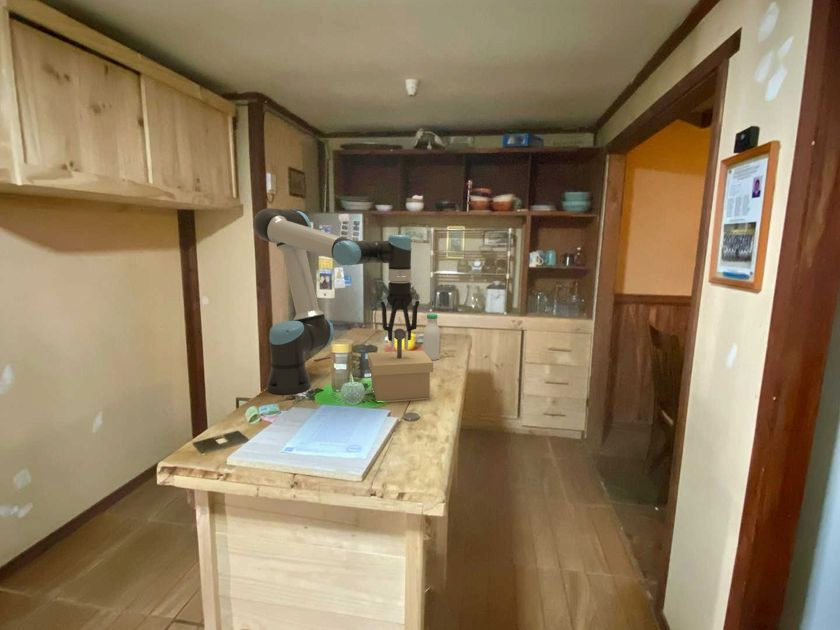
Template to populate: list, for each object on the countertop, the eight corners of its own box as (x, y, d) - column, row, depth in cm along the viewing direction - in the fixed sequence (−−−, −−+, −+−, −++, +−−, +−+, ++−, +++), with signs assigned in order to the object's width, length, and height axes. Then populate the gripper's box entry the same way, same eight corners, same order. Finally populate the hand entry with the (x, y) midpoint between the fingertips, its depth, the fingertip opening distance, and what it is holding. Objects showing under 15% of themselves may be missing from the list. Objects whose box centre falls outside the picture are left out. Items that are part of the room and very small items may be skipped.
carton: (376, 402, 147) (376, 367, 144) (371, 388, 160) (371, 356, 158) (429, 399, 150) (429, 364, 148) (420, 385, 164) (420, 353, 162)
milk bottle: (438, 361, 196) (439, 316, 192) (421, 359, 197) (421, 315, 194) (441, 356, 203) (442, 313, 200) (424, 355, 205) (425, 312, 201)
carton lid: (373, 375, 144) (372, 334, 141) (368, 361, 159) (367, 324, 157) (433, 372, 148) (433, 332, 146) (422, 359, 163) (422, 323, 161)
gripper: (375, 283, 143) (376, 353, 147) (427, 282, 146) (426, 351, 151) (372, 280, 150) (373, 348, 154) (422, 280, 154) (421, 345, 158)
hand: (399, 349), depth 152 cm, fingers closed on carton lid, 4 cm apart
